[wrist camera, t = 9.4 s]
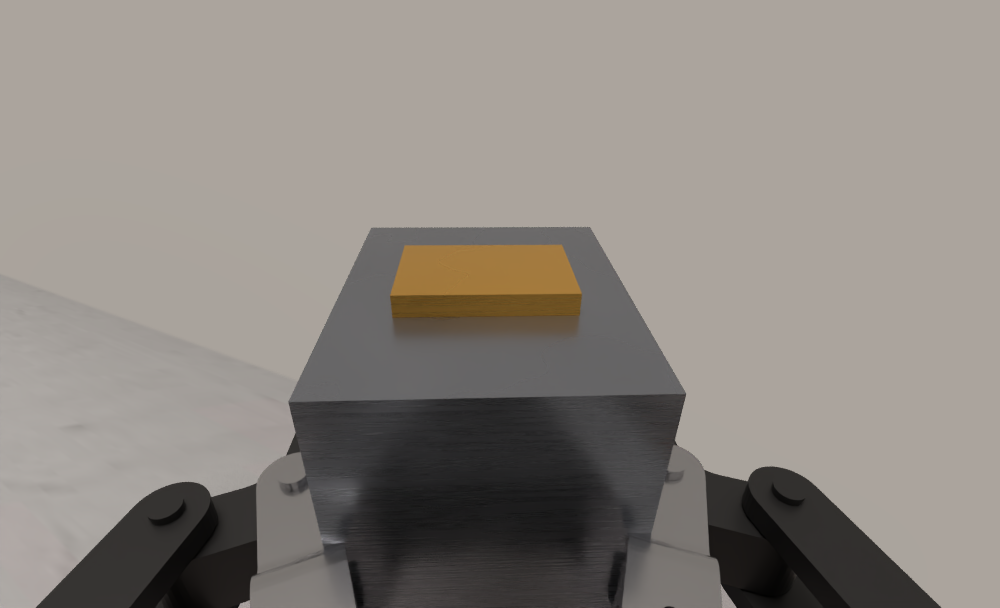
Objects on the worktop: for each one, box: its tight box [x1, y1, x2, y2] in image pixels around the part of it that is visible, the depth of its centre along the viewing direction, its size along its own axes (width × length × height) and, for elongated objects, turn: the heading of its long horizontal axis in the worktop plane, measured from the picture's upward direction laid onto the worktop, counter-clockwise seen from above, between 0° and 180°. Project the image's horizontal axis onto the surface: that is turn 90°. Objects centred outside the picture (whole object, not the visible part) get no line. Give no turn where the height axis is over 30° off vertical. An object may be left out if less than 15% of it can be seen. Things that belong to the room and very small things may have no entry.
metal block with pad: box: [289, 227, 686, 608], centre depth 11 cm, size 6×5×10 cm
